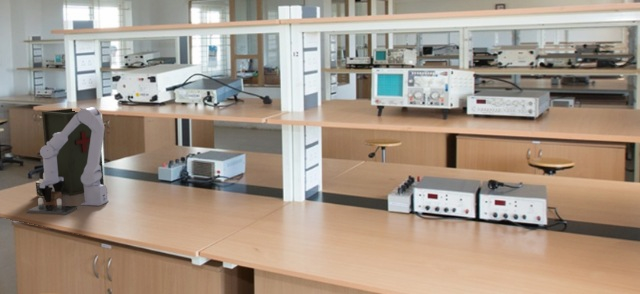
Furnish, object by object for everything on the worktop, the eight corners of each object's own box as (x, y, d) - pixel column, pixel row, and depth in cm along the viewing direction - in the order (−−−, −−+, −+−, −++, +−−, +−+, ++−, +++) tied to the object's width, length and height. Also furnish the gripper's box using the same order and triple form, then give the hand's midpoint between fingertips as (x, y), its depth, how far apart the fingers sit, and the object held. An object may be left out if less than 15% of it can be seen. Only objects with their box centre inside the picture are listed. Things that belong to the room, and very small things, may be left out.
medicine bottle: (36, 196, 272) (34, 171, 270) (49, 192, 279) (47, 169, 277) (46, 197, 269) (44, 173, 267) (59, 194, 275) (57, 170, 273)
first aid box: (71, 195, 273) (65, 113, 266) (48, 190, 282) (41, 111, 276) (104, 187, 288) (98, 110, 282) (81, 183, 298) (75, 108, 291)
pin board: (77, 208, 250) (76, 196, 249) (65, 214, 242) (64, 201, 241) (40, 207, 253) (39, 194, 252) (27, 212, 245) (26, 199, 244)
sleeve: (62, 202, 261) (61, 191, 261) (55, 205, 257) (54, 194, 256) (52, 201, 262) (51, 191, 261) (45, 204, 257) (44, 194, 256)
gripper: (52, 167, 264) (55, 195, 267) (32, 174, 250) (35, 203, 253) (66, 167, 263) (68, 196, 266) (47, 174, 249) (49, 204, 252)
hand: (53, 199), depth 259 cm, fingers open, 7 cm apart
